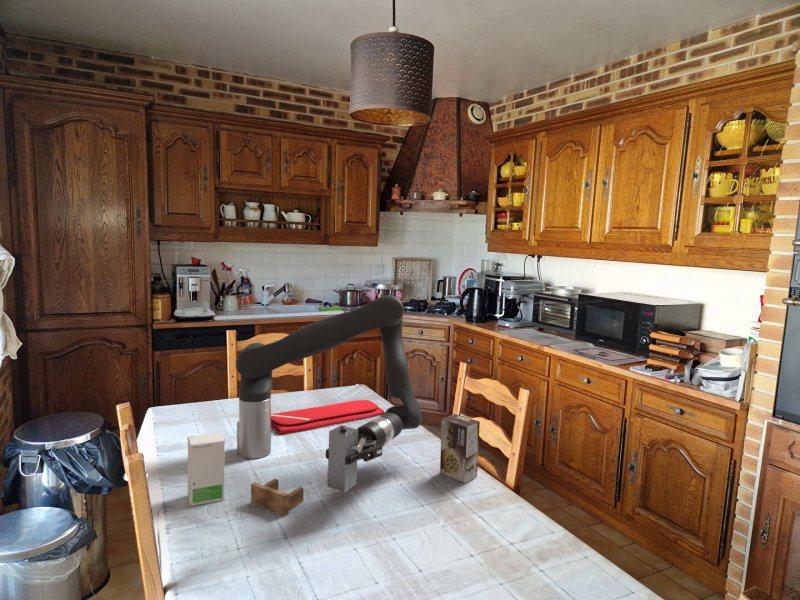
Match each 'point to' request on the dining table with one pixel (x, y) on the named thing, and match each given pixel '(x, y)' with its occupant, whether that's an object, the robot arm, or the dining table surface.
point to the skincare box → (206, 468)
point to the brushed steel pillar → (342, 458)
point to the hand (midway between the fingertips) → (336, 457)
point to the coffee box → (459, 447)
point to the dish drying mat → (323, 416)
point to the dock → (275, 497)
